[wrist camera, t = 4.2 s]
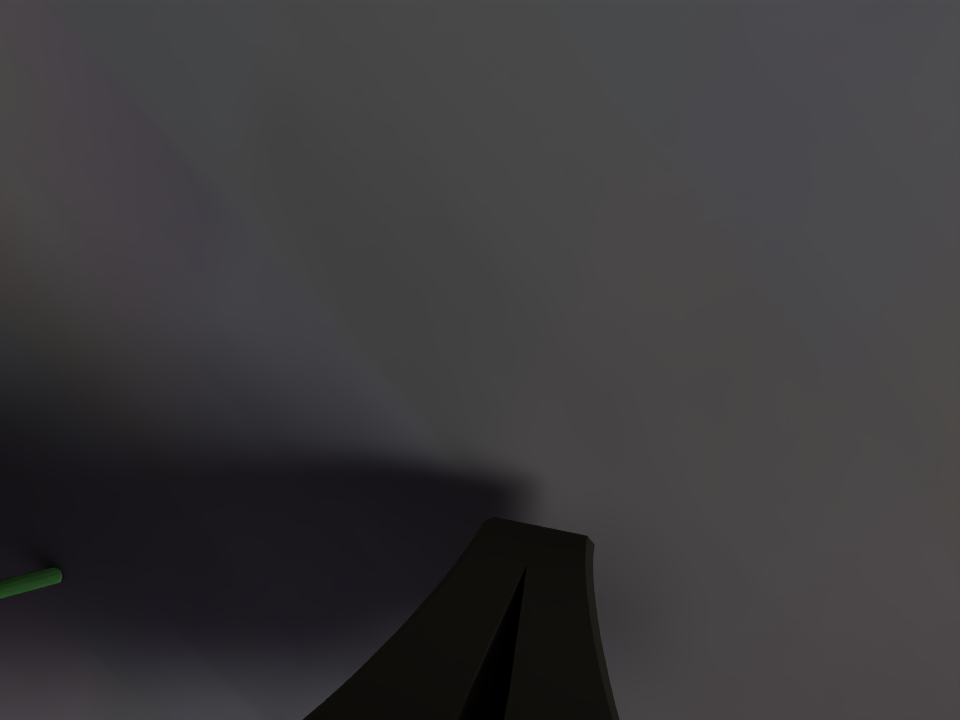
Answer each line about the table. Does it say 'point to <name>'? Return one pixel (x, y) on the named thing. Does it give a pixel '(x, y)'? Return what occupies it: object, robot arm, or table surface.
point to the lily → (29, 582)
